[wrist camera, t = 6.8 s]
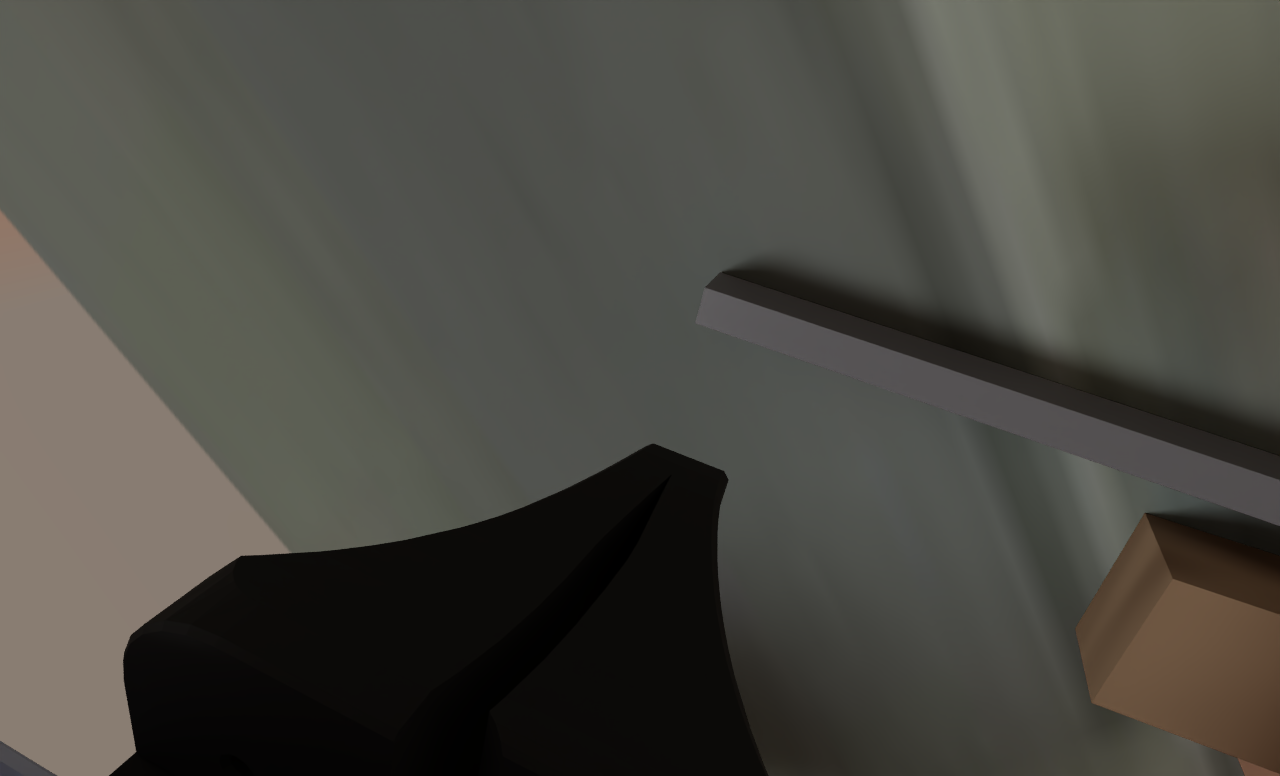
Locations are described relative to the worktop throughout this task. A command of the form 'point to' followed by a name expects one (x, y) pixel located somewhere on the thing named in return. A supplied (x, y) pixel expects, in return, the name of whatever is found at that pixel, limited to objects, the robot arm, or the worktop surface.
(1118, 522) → the worktop surface
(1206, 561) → the brown rectangular block
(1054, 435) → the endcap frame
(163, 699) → the robot arm
